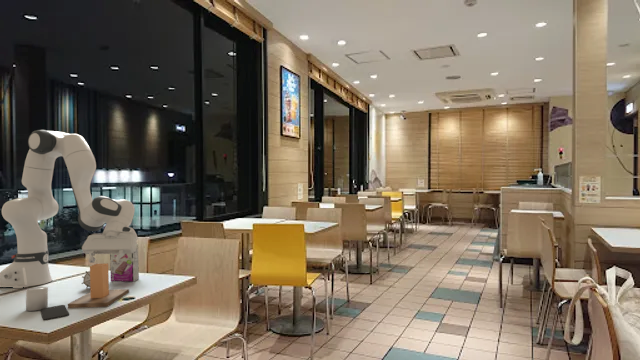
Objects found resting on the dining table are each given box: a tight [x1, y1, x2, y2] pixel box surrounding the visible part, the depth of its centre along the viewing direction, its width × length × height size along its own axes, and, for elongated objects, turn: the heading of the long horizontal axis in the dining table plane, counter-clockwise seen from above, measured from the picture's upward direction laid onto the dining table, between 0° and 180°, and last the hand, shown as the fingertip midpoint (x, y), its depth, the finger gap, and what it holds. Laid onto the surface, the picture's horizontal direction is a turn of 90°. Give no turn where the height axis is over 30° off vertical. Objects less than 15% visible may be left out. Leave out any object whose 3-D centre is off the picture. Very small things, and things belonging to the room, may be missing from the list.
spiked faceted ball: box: [81, 270, 90, 289], centre depth 174 cm, size 9×8×10 cm
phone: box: [40, 304, 70, 321], centre depth 142 cm, size 7×1×15 cm
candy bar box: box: [109, 243, 140, 283], centre depth 186 cm, size 11×5×16 cm, turn 84°
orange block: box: [89, 263, 110, 298], centre depth 156 cm, size 5×5×12 cm
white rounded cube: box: [25, 286, 49, 312], centre depth 147 cm, size 6×6×7 cm
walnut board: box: [67, 288, 130, 309], centre depth 156 cm, size 14×18×2 cm
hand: (103, 261), depth 160 cm, fingers open, 8 cm apart
